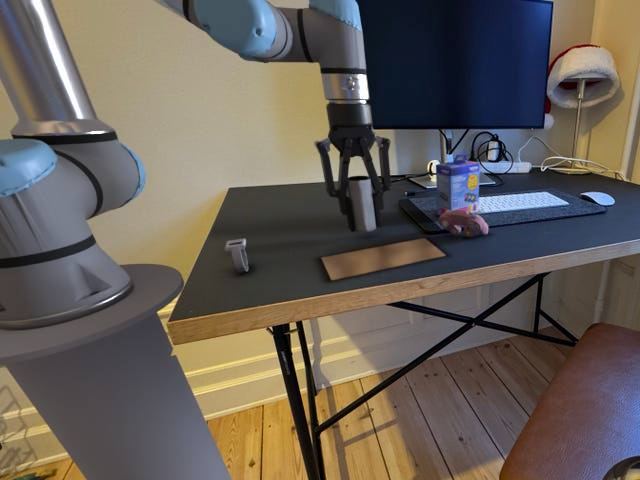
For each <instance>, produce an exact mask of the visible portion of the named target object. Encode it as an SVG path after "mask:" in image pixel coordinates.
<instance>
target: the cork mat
mask: <svg viewBox="0 0 640 480" xmlns="http://www.w3.org/2000/svg"><path fill="white" fill-rule="evenodd" d="M446 255H447V254H445V253H444V252H443V251H442V250H440V249H439V248H438V247H437V246H435V245H434V244H433V243H431V242H430V241H429V240H427V238H425V237H423V238H418V239H412V240H407V241H402V242H396V243H392V244H386V245H381V246H375V247H370V248H364V249H360V250H359V249H358V250H354V251H348V252H344V253H339V254H334V255H328V256H323V257H320V259H321V261H322V263H323V265H324V268H325V270H326V272H327V274H328V276H329V279H330V281H331V282H333V281H338V280H342V279H349V278H352V277H357V276H361V275H365V274H366V275H367V274H371V273H374V272H379V271H383V270H388V269H393V268H396V267H402V266H407V265H411V264H415V263H419V262H426V261H428V260H429V261H430V260H435V259H438V258H444V257H446Z"/></svg>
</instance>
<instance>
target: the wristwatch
mask: <svg viewBox="0 0 640 480" xmlns="http://www.w3.org/2000/svg"><path fill="white" fill-rule="evenodd" d="M246 244H247V239H246V238H238V239H231V240H227V241H226V243H225V246H224V251H225V252H230V255H231V259H232V262H233V266H234V269H235V271H236V272H237V273H238V274H241V273H242V274H243V273H248V271H249V261H248V255H247V252H246V246H247V245H246Z"/></svg>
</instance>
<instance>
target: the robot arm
mask: <svg viewBox="0 0 640 480" xmlns="http://www.w3.org/2000/svg"><path fill="white" fill-rule="evenodd" d="M152 1H153V2H155V3H156V4H158V5H159V6H162V7H163V8H165V9H167V11H170V12H171V13H173V14H174V15H176V16H178V17H180V18H181V19H183V20H185V21H187V22H188V23H190V24H191V25H193V26H194V27H196V28H197V29H199V30H200V31H202V32H204V33H206V34H207V36H209V37H210V38H211V40H212V41H214V42H215V43H217V44H218V45H220V46H222V47H223V48H224V49H227V50H228V51H230V52H232V53H235V54H237V56H238V57H239V58H240V59H242V60H243V61H246V62H255V63H256V62H257V63H263V64H269V63H309V64H316V63H317V64H318V65H319V72H320V77H321V84H322V90H323V97H324V99H325V101H328V103H327V104H326V105H325V108H326V114H327V121H328V128H329V130H328V134H327V137H325V138H323V139H321V140H315V141H314V143H313V145H314V147H315V148H316V150H317V152H318V154H319V159H320V163H321V168H322V174H323V180H324V184H325V190H326V194H327V195H328V196H329V197H331V198H337V200H338V205H339V211H340V213H341V214H342V216H346V221H347V227H348V229H349V231H350V232H351V233H352V232H356V231H355V224H354V217H353V211H352V204H351V199H350V198H349V196H348V195H347V194H348V189H347V183H348V177H349V169H350V163H351V158H355V157H358V158H359V157H360V158H361V160H362V162H363V164H364V167H365V170H366V173H367V176H369V177H370V178H371V186H372V191H373V192H372V194H373V202H374V210H375V218H376V228H382V219H381V218H382V217H381V211H383V210H384V209H385V205H384V204H385V203H384V195H385V192H387V191H392V178H391V177H392V176H391V165H390V157H389V156H390V155H389V154H390V153H389V152H390V151H389V150H390V146H391V139H389V138H387V137H384V136H383V137H382V136H379V135H377V133H376V131H375V130H374V126H373V125H374V124H373V117H372V107H371V105H370V103H367V101H369V100H370V89H369V84H368V76H367V73H368V72H367V64H366V55H365V45H364V44H365V43H364V33H363V27H362V22H361V15H360V9H359V5H358V2H357V1H356V0H308V4H307V5H308V6H307V7H303V8H301V7H300V8H294V7H283V6H275V5H274V4H272V3H271V2H269V1H268V0H152ZM0 81H1V82H0V83H1V84H2V86H3V88H4V90H5V92H6V94H7V96H8V98H9V101H10V103H11V105H12V107H13V109H14V111H15V113H16V116H17V117H18V120H17V123H15V124H14V126H13V127H12V128H11V130H10V131H9V133H10V135H11V137H12V138H6V139H0V329H3V330H28V329H36V328H42V327H48V326H52V325H57V324H61V323H65V322H69V321H72V320H76V319H79V318H82V317H85V316H88V315H91V314H93V313H96V312H99V311H101V310H103V309H106V308H108V307H110V306H112V305H114V304H116V303H117V302H119V301H121V300H122V299H124V298H125V297H127V296H128V295H129V294H130V293H131V292H132V290H133V289H134V285H133V282H132V280H131V278H130V276H129V275H128V274H127V273H126V272H125V271H124V270H123V269H122V268H121V267H120V266H119V265H120V264H118V263H117V261H115V260H114V259H113V258H112V257H111V256H110V255H109V254H108V253H107V252H106V251H104V249H102V247H100V245H99V244H98V241H97V240H96V238H95V236H94V233H93V232H92V230H91V227H90V225H89V224H88V221H89V220H91V219H94V218H96V217H97V216H100V215H103V214H105V213H107V212H110V211H114V210H117V209H120V208H123V207H125V206H126V205H127V204H129V203H130V202H132V201H134V200H135V199H136V198H137V197H139V196H140V194H141V193H142V192H143V190H144V188H145V185H146V181H147V174H146V173H147V172H146V169H145V165H144V163H143V162H142V160H141V159H140V157H139V155H137V153H136V152H135V151H134V150H132V149H130V148H128V146H127V145H126V144H125V143H123V142H121V141H120V139H119V137H118V135H117V132H116V129H115V127H113V126H111V125H109V124H108V123H106V122H104V121H103V120H102V119H100V117H98V115H97V113H96V110H95V107H94V105H93V102H92V100H91V97H90V95H89V92H88V90H87V87H86V84H85V82H84V79H83V77H82V73H81V71H80V69H79V66H78V64H77V61H76V58H75V56H74V53H73V51H72V48H71V46H70V43H69V41H68V38H67V36H66V33H65V31H64V28H63V25H62V22H61V20H60V17H59V14H58V12H57V10H56V7H55V5H54V3H53V0H0ZM375 143H376V148H377V149H378V160H379V170H380V177H381V178H379V175H378V173H377V170H376V167H375V164H374V161H373V156H372V154H371V149H372V147H373V146H374V145H375ZM331 145H332V146H333V147H334V148H335V149H336V150H337V151H338V152H339V157H338V158H339V159H338V160H339V161H338V163H339V164H338V176H337V178H338V179H337V186H336V187H335V181H334V176H333V170H332V163H331V158H330V154H329V152H331ZM380 180H381V181H380ZM336 188H337V189H336Z"/></svg>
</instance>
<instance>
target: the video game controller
mask: <svg viewBox="0 0 640 480" xmlns="http://www.w3.org/2000/svg"><path fill="white" fill-rule="evenodd" d="M438 224H439V225H440V226H441V227H442V229H444V230H445V231H448V232H449V233H450V234H451V235H454V236H458V235H460V233H461V232H462V227H464V229H463V235H464V236H465V237H468V238H474V236H475V234H477V233H478V234H479V235H481V236H486V235H488V233H489V225H488V223H487V222H486V221H485V220H484V219H483V217H482V216H481V215H480V214H478V212H475V213H471V212H468V211H466V210H454V211H450V210H446V212H445V213H443V214H442V215H441V216H440V215H439V217H438ZM461 226H462V227H461Z"/></svg>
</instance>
